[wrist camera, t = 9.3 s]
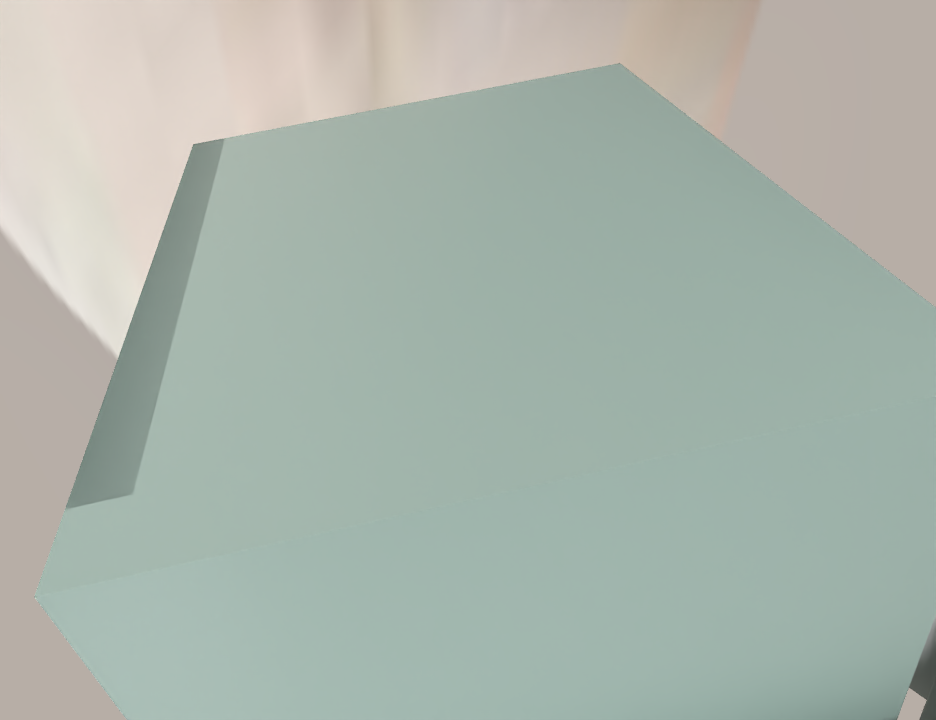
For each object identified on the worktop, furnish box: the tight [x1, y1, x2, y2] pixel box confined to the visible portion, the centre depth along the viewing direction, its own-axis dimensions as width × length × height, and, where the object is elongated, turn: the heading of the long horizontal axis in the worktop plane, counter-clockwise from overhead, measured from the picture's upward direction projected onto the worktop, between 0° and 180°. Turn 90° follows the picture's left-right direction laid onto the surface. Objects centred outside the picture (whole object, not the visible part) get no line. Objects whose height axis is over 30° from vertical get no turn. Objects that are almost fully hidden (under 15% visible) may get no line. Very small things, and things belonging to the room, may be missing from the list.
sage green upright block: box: [35, 63, 936, 720], centre depth 12 cm, size 11×7×9 cm, turn 8°
